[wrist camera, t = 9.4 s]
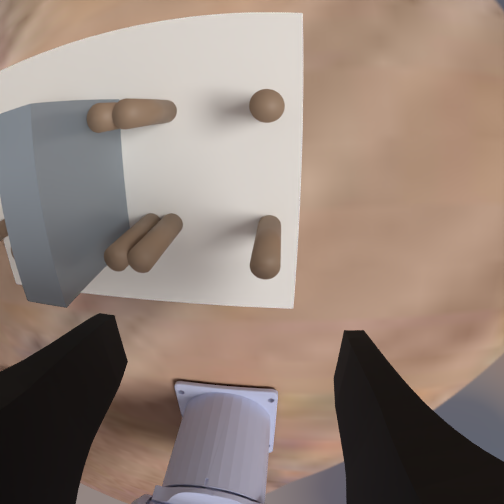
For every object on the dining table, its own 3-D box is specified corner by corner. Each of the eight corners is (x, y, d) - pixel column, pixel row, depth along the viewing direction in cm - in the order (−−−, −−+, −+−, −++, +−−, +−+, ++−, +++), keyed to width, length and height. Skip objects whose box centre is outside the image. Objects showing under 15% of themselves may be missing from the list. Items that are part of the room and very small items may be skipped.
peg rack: (292, 299, 20) (294, 361, 15) (23, 278, 21) (-18, 314, 16) (301, 18, 13) (309, -21, 8) (-6, 77, 15) (-62, 83, 10)
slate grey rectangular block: (131, 240, 18) (66, 307, 11) (97, 239, 18) (27, 300, 12) (119, 99, 14) (30, 103, 8) (82, 105, 15) (-9, 117, 8)
